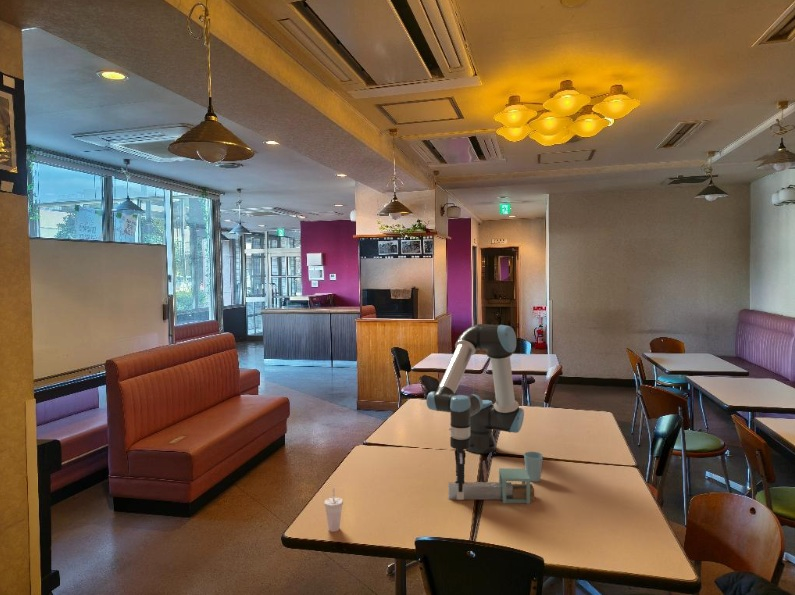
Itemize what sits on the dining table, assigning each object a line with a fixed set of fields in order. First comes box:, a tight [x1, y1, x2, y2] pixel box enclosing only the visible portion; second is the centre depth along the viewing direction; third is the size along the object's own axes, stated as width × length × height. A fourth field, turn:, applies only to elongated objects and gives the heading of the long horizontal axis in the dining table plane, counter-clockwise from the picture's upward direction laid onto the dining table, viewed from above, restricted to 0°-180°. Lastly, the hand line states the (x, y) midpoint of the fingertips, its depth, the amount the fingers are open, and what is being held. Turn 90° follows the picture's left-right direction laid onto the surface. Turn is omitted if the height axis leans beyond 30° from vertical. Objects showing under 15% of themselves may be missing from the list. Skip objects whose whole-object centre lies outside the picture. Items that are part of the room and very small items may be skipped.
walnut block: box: [511, 483, 535, 502], centre depth 199 cm, size 5×8×4 cm, turn 87°
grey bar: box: [448, 481, 513, 500], centre depth 200 cm, size 4×24×5 cm, turn 87°
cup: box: [523, 451, 544, 483], centre depth 217 cm, size 8×8×10 cm
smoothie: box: [323, 487, 344, 533], centre depth 177 cm, size 6×6×14 cm
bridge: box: [498, 467, 531, 505], centre depth 199 cm, size 10×10×10 cm
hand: (459, 496), depth 201 cm, fingers closed on grey bar, 4 cm apart
